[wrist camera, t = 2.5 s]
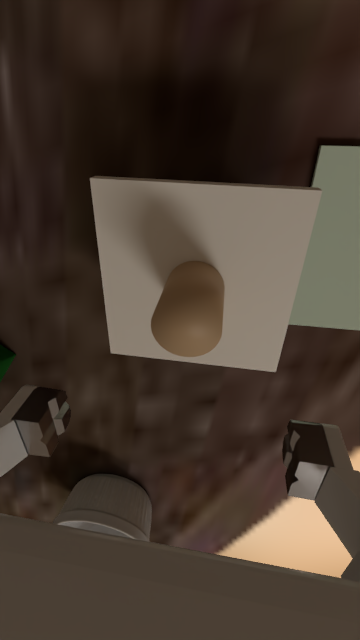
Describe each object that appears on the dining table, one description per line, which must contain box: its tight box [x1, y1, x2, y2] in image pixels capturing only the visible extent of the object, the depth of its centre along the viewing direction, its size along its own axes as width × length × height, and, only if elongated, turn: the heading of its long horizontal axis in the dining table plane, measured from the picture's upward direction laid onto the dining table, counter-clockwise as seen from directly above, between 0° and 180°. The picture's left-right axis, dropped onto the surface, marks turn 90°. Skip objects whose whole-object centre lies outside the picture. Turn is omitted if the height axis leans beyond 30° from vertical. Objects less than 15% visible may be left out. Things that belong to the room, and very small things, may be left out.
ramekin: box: [53, 474, 152, 542], centre depth 43 cm, size 13×13×7 cm
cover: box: [90, 176, 322, 372], centre depth 18 cm, size 12×12×5 cm
